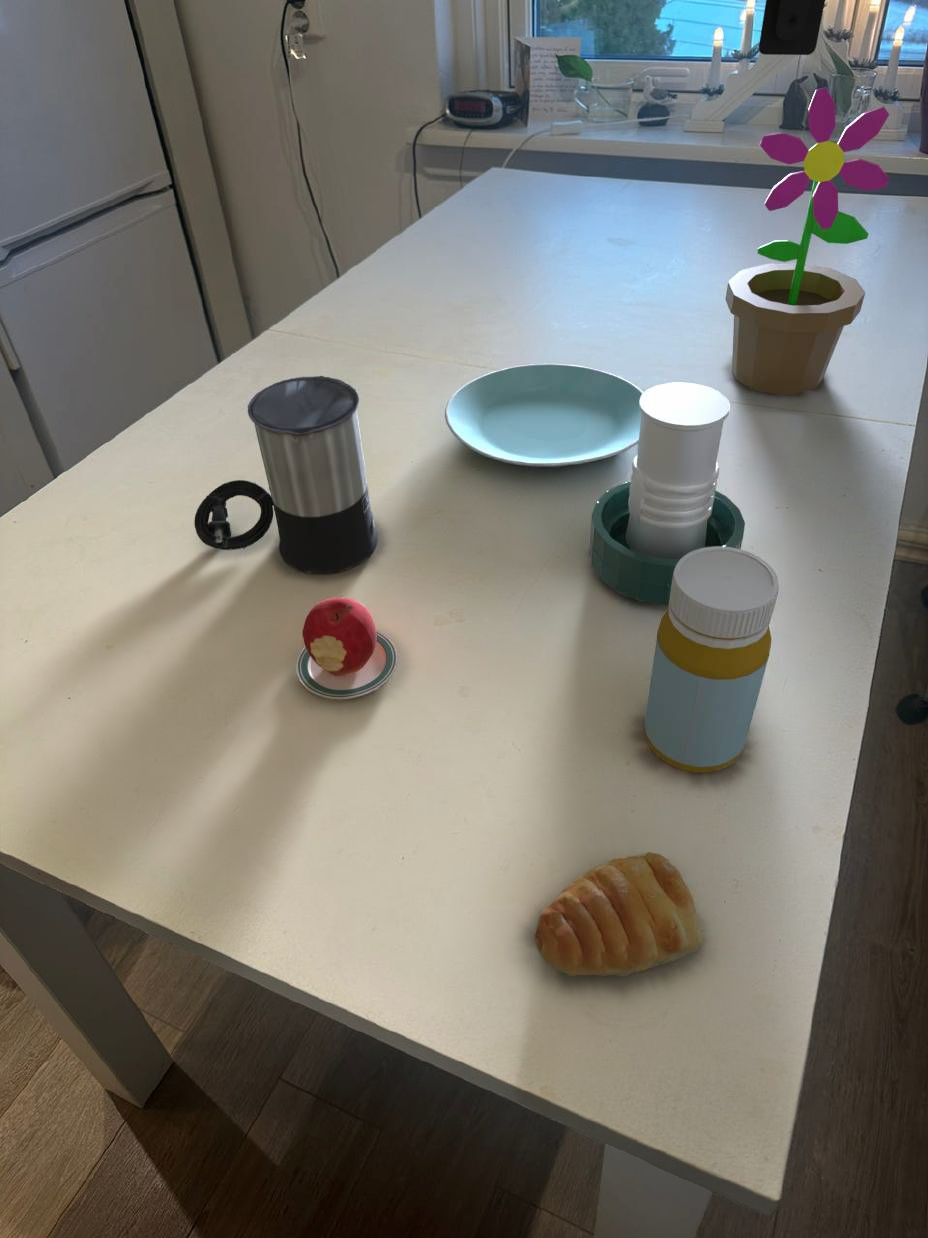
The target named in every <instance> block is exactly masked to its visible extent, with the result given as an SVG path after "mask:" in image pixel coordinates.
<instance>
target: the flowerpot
mask: <svg viewBox="0 0 928 1238" xmlns="http://www.w3.org/2000/svg"><path fill="white" fill-rule="evenodd" d="M889 116H890V113H889V112H888V110H887V109H886V108H885V106H881V107H878V108H874V109H871V110H868V111H865V112H863V113H861V115H859V116H858V117H856V118H855V119H854V120H853V121H852V122H851V123H849V124H848V125H847V126H846V127H844V131H843V132H842V134H841V136H840V138H839V141H838V142H835V141H833V140H830V138H831V136H832V134H833V133H834V130H835V127H836V103H835V101H834V99H833V97H832V95H831V94H830V92H829V90H828V88H827V87H826V86H824V87H821V88H817V89H815V91H814V93H813V95H812V99H811V102H810V104H809V107H808V130H809V133H810V135H811V136H812V138H813V139H814V141H815V142H816V143H815V144H814V145H813V146H812V147H811V148H808V147H807V145H806V144H805V142H804V141H803V140H802V139H801V138H800V137H798V136H795V135H792V134H789V133H786V132H783V131H780V132H774V133H769V134H764V135H763V136H762V139H761V141H760V143H759V146H760V148H761V149H762V150H763V151H764V152H765V154H766V155H767V156H768V157H769V158H770V159H771V160H775V161H778V162H780V163H783V164H786V165H794V164H797V163H802V162H803V167H804V169H803V170H801V171H797V172H790V173H789V174H788V175H786V176H785V177H784V178H783V179H782V180H780V181H779V182H778V183H777V184H775V185H774V186H773V187H772V189H771V191H770V193H769V195H767V196H768V197H767V198H766V200H765V202H764V206H765V207H766V209H767V210H768V211H769V212H772V211H777V210H781V209H784V208H788V206H790V205H791V204H792V203H793V202H795V201H796V200H797V199H798V198H800V197H801V196H802V195H804V193H805V191H806V188H807V187H808V184H809V182H810V181H811V180H812V181H813V182H812V188H811V192H810V196H809V201H808V206H807V211H806V215H805V219H804V223H803V227H802V233H801V237H800V243H797V242H794V241H791V240H789V239H783V240H773V241H771V242H769V243H767V244H764V245H762V246H760V247H758V248H757V254H758V255H760V256H762V257H765V258H767V259H770V260H773V261H777V262H783V263H763V264H760V265H756V266H752V267H747V268H743V269H740V270H739V271H737V273H736V274H734V275H733V276H732V277H731V278H730V279H729V280H728V282H727V287H726V293H725V298H724V299H725V302H726V305H727V308H728V310H729V313H730V314H732V315H733V329H732V331H733V332H732V333H733V334H732V358H731V370H732V373H733V376H734V379H735V380H736V381H738V382H739V383H740V384H742V385H744V386H745V387H747V388H749V389H750V390H754V391H758V392H762V393H767V394H771V395H800V394H802V393H805V392H808V391H812V390H814V389H817V387H818V386H819V385H820V383H821V382H822V380H823V378H824V376H825V374H826V372H827V369H828V367H829V364H830V362H831V359H832V357H833V354H834V352H835V350H836V347H837V344H838V342H839V339H840V337H841V335H842V332H843V330H844V327H846V326H848V325H851V324H852V323H853V322H854V321H855V319H856V318H857V316H858V315H859V314H860V312H861V310H862V307H863V303H864V299H865V296H866V291H865V289H864V288H863V287H862V285H860V283H859V281H858V280H857V279H856V278H854V277H852V276H849V275H847V274H844V273H842V272H840V271H838V270H836V269H833V268H831V267H824V266H818V265H813V264H806V261H807V257H808V253H809V247H810V243H811V238H812V235H814V236H816V237H817V238H819V239H821V240H822V241H824V242H825V243H827V244H841V245H848V244H852V243H855V242H859V241H862V240H867V239H868V237H869V232H868V231H867V230H866V229H865V227H863V225H862V224H861V223H860V222H859V221H858V219H856V217H855V216H853V215H850V214H847V213H845V212H842V211H839V190H838V188H837V187H836V185H835V184H834V183H833V181H832V180H833V178H835V177H836V176H837V175H839V176H840V177H841V178H842V179H843V181H844V183H845V184H846V185H847V186H850V187H853V188H856V189H859V190H862V191H865V192H866V191H874V190H880V189H885V188H886V186H887V184H888V182H889V180H890V177H889V176H888V175H887V173H886V172H885V171H884V170H883V168H881V166H880V165H879V164H878V163H875V162H871V161H868V160H866V159H862V158H860V157H859V158H856V159H855V158H854V159H851V160H847V161H845V153H846V152H851V151H857V150H860V149H861V148H863V147H864V146H865V145H866V144H868V143H869V142H870V141H871V140H873V139H874V138H876V136H878V134H879V133H880V131H881V130H882V128H883V126H884V125H885V123H886V121H887V119H888V118H889ZM794 260H796V262H794V263H793V262H792V263H791V262H790V261H794Z"/></svg>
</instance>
